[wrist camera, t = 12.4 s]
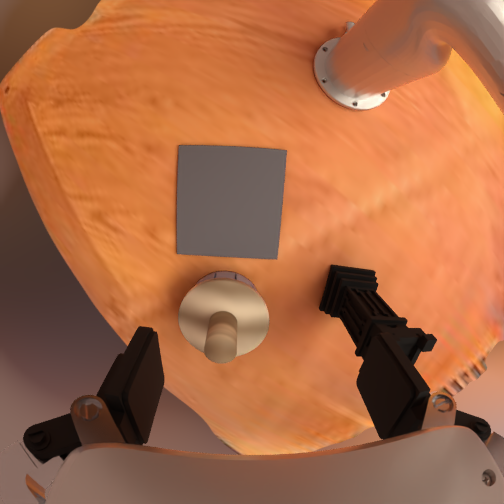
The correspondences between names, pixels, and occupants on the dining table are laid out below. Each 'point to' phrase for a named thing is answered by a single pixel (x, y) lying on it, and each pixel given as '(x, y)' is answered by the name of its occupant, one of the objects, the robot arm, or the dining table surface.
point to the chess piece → (369, 312)
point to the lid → (223, 318)
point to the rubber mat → (229, 201)
